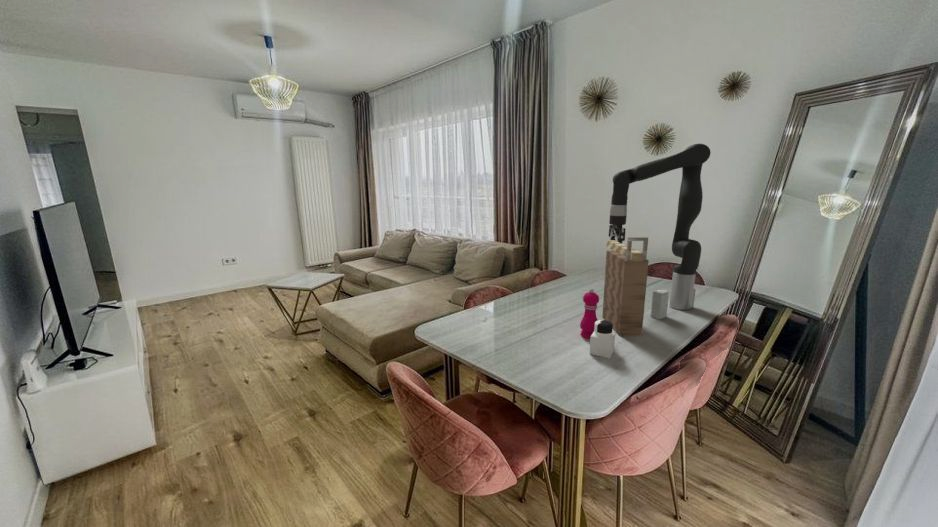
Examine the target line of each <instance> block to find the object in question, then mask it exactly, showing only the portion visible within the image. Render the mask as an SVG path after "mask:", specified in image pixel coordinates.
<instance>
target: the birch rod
mask: <svg viewBox="0 0 938 527" xmlns="http://www.w3.org/2000/svg"><path fill="white" fill-rule="evenodd" d="M606 248H609V249H610V250H614V251H615V252H617V253H619V254H621V255H623V256H625V257H626V253H627V245H625V244H623V243H622V244H621V243H619V242H617V240H616V239H615V240H610V239H609V240H608V239H607V240H606ZM631 260H633V261H643V253H642V251H639V250H637V249H635V248H632V247H631Z"/></svg>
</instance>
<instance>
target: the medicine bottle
mask: <svg viewBox="0 0 938 527" xmlns="http://www.w3.org/2000/svg"><path fill="white" fill-rule="evenodd" d="M597 320H598V321H596V322H595V328H594V332H593V334H592V335H591V338H590V339H589V341H590V342H589V355H592V356H595V357H600V358H605V359H611V358H612V355H613V354H614V351H615V343H616V342H615V341H616V332H613V324H612V323H611V322H609V321H607V320H604V319H597Z"/></svg>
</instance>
